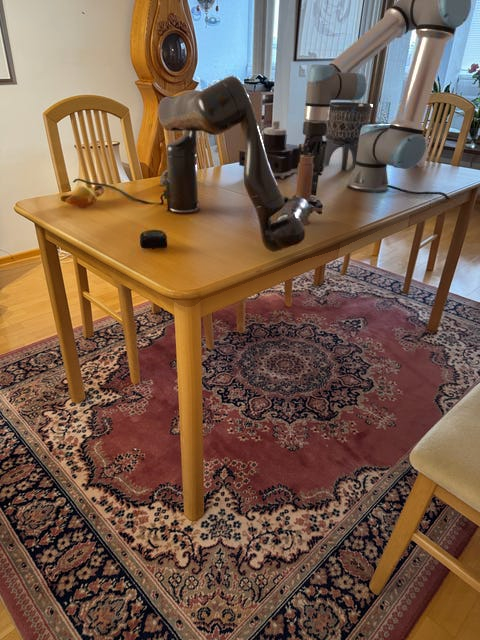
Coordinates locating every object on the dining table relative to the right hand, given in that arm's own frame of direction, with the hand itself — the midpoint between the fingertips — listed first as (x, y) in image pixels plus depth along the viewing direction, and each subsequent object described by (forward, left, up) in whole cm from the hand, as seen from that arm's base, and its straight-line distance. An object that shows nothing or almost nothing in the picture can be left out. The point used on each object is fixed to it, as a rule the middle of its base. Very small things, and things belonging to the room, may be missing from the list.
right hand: (307, 196), depth 152 cm
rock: (+49, -23, -3) cm, 54 cm away
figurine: (-56, -76, -3) cm, 95 cm away
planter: (-20, -67, -3) cm, 70 cm away
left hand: (+2, +15, +3) cm, 15 cm away
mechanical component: (+9, -49, -3) cm, 50 cm away
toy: (+74, +8, -3) cm, 74 cm away
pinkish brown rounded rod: (+3, +17, -3) cm, 18 cm away
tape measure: (+42, +45, -3) cm, 61 cm away
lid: (0, 0, +4) cm, 4 cm away
